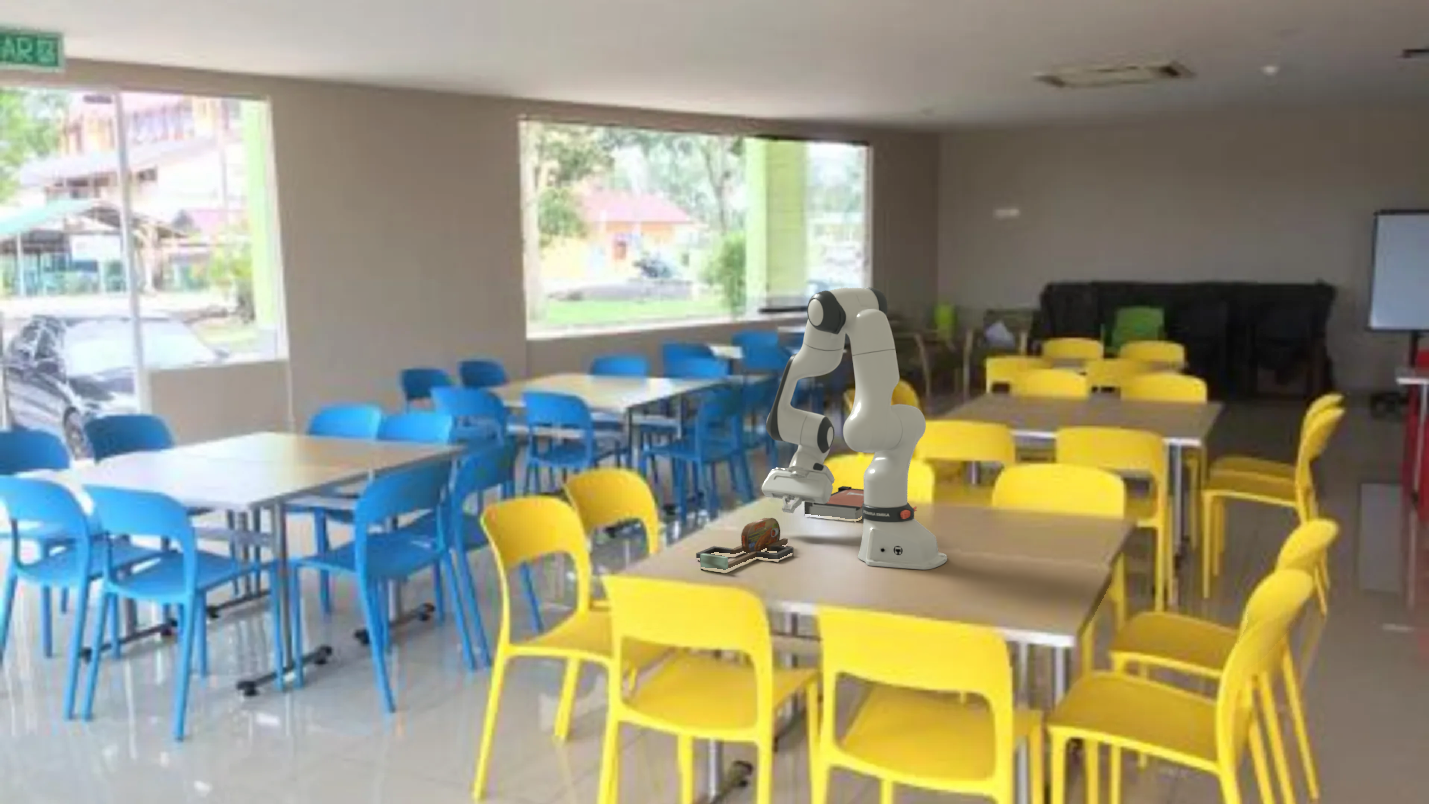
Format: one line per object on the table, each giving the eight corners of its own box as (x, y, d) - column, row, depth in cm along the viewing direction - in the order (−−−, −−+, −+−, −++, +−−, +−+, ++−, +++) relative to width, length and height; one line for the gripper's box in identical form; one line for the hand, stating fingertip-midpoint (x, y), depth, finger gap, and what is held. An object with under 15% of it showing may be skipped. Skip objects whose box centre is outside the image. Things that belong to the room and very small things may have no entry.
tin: (749, 558, 307) (748, 526, 306) (739, 556, 309) (738, 525, 308) (781, 546, 319) (781, 515, 318) (771, 544, 321) (771, 514, 320)
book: (858, 524, 344) (858, 507, 343) (804, 518, 353) (804, 501, 352) (894, 506, 366) (894, 490, 365) (842, 501, 375) (842, 486, 374)
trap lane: (807, 548, 316) (807, 533, 315) (746, 576, 290) (746, 560, 289) (745, 540, 326) (744, 526, 326) (680, 567, 300) (680, 551, 300)
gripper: (768, 460, 336) (750, 501, 329) (832, 467, 325) (815, 509, 318) (776, 473, 340) (759, 513, 334) (840, 480, 329) (823, 522, 322)
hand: (787, 511), depth 326 cm, fingers closed
